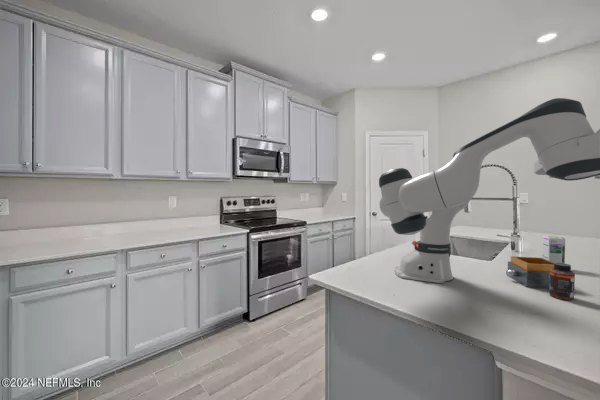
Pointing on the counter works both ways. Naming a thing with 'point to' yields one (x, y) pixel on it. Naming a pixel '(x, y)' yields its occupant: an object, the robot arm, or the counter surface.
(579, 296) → the counter surface
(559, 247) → the syrup box
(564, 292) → the supplement bottle
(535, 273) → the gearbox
